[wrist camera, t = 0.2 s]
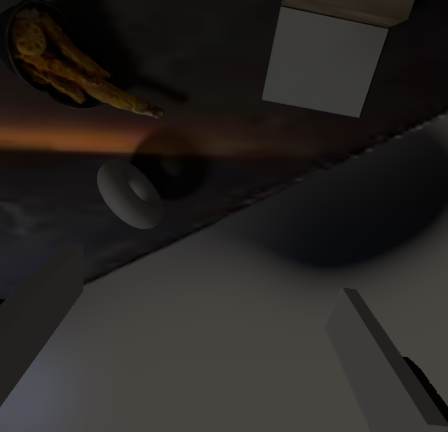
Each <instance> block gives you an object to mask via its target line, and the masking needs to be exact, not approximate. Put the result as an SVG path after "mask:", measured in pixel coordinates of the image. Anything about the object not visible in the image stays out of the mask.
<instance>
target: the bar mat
mask: <svg viewBox="0 0 448 432" xmlns="http://www.w3.org/2000/svg"><path fill="white" fill-rule="evenodd" d="M388 30H389V29H386V28H381V27H376V26H371V25H366V24H362V23H357V22H352V21H347V20H343V19H338V18H333V17H328V16H323V15H319V14H314V13H309V12H304V11H300V10H295V9H290V8H285V7H281V8H280V13H279V18H278V23H277V28H276V33H275V38H274V42H273V47H272V52H271V57H270V62H269V67H268V72H267V77H266V81H265V86H264V91H263V96H262V100H267V101H272V102H277V103H283V104H288V105H293V106H299V107H304V108H310V109H315V110H320V111H326V112H331V113H337V114H342V115H347V116H353V117H358V118H359V116H360V113H361V110H362V107H363V104H364V101H365V98H366V95H367V92H368V89H369V86H370V83H371V80H372V77H373V74H374V71H375V68H376V65H377V62H378V59H379V56H380V53H381V50H382V47H383V44H384V41H385V39H386V36H387V33H388Z"/></svg>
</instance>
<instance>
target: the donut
mask: <svg viewBox="0 0 448 432" xmlns="http://www.w3.org/2000/svg"><path fill="white" fill-rule="evenodd" d="M97 182H98V187H99V190H100V193H101V195H102V197H103V198H104V200H105V202H106V203H107V205H108V206H109V207H110V208H111V210H112V211H113V212H114V213H115V214H116V215H117V216H118V217H119V218H121V219H122V220H123V221H124V222H126V223H128V224H129V225H131V226H134V227H137V228H140V229H147V228H152V227H155V226H156V225H157V224H158V223H159V222H160V221H161V219H162V217H163V204H162V201H161V198H160V196H159V193H158V192H157V190H156V188H155V187H154V185H153V184H152V183H151V181H150V180H149V179H148V178H147V177H146V176H145V175H144V174H143V173H142V172H141V171H140V170H139V169H138V168H137V167H135V166H133V165H132V164H130V163H128V162H126V161H123V160H119V159H116V160H110V161H107V162H105V163H104V164H103V165H102V167H101V168H100V169H99V171H98V179H97Z"/></svg>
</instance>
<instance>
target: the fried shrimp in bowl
mask: <svg viewBox="0 0 448 432" xmlns="http://www.w3.org/2000/svg"><path fill="white" fill-rule="evenodd" d="M0 57H1V59H2V60H3V62H4V63H5V64H6V65H7V67H8V68H9V69H10V70H11V71H12V72H13V73H15V74H16V75H17V76H18V77H19V78H20V79H21V80H22V81H23V82H24V83H26V84H27V85H28V86H29V87H31V88H32V89H34V90H36V91H41V92H47V93H48V95H49V96H51V97H52V98H53V99H54V100H55V101H56V102H57V103H59V104H61V105H64V106H67V107H69V108H73V109H81V110H85V109H93V108H96V107H98V106H100V105H102V104H104V103H105V102H106V103H109V104H111V105H112V106H114V107H117V108H121V109H126V110H130V111H132V112H134V113H137V114H142V115H149V116H152V117H155V118H161V117H163V116H164V110H162V109H161V108H158V107H156V106H155V105H152V106H151V105H150V103H149V102H147V101H145V100H142V99H141V98H139V97H137V96H133V95H132V94H130V93H127V92H125V91H123V90H122V89H119V88H117V87H116V86H114V85H115V81H114V77H113V74H112V72H111V70H110V68H109V67H108V66H107V64H106V63H105V62H104V61H102V60H101V59H100V58H98V57H97V56H95V55H93V54H89V53H87V52H83V51H80V50H79V49H78V46H77V40H76V36H75V33H74V31H73V28H72V27H71V25H70V23H69V22H68V20H67V19H66V18H65V16H64V15H63V14H62V12H61V11H60V10H59V9H58V8H56V7H55V6H54V5H52V4H51V3H49V2H46V1H44V0H25V1H22V2H20V3H19V4H18V5H16V6H12V7H10V8H8V9H6V10H5V11H3V12H2V13H1V14H0Z"/></svg>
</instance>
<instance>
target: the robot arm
mask: <svg viewBox="0 0 448 432" xmlns="http://www.w3.org/2000/svg"><path fill="white" fill-rule="evenodd" d="M82 292H83V245H79V244H72V243H66V244H65V245H64V246H63V247H62V248H61V249H59V250H58V251H57V252H56V253H55V254H54V255H53V256H52V257H51V258H50V259H49V260H48V261H47V262H46V263H45V264H44V265H42V266H41V267H40V268H39V269H38V270H37V271H36V272H35V273H34V274H33V275H32V276H31V277H30V278H29V279H28V280H26V281H25V282H24V283H23V284H22V285H21V286H20V287H19V288H18V289H17V290H16V291H15V292H14V293H13V294H12V295H11V296H9V297H8V298H7V299H6V300H4V299H0V407H1V405H2V404H3V402H4V401H5V399H6V398H7V397H8V395H9V394H10V392H11V391H12V390H13V388H14V387H15V386H16V384H17V383H18V381H19V380H20V378H21V377H22V376H23V374H24V373H25V372H26V370H27V369H28V367H29V366H30V365H31V363H32V362H33V360H34V359H35V358H36V356H37V355H38V353H39V352H40V351H41V349H42V348H43V347H44V345H45V344H46V342H47V341H48V340H49V338H50V337H51V335H52V334H53V333H54V331H55V330H56V328H57V327H58V325H59V324H60V323H61V321H62V320H63V318H64V317H65V316H66V314H67V313H68V312H69V310H70V309H71V307H72V306H73V305H74V303H75V302H76V300H77V299H78V298H79V296H80V294H81V293H82ZM325 329H326V331H327V334H328V336H329V338H330V341H331V343H332V345H333V348H334V350H335V352H336V354H337V357H338V359H339V361H340V364H341V366H342V368H343V370H344V372H345V375H346V377H347V379H348V382H349V384H350V386H351V389H352V391H353V393H354V395H355V398H356V400H357V402H358V404H359V407H360V409H361V411H362V413H363V416H364V418H365V420H366V423H367V425H368V427H369V430H370V432H448V406H447V405H446V404H445V402H444V401H443V400H442V398H441V397H440V395H439V394H437V391H436V390H435V388H434V387H433V386H432V384H430V383H429V380H428V379H427V377H426V376H425V374H424V373H423V372H422V370H421V369H420V368H419V367H418V366H417V365H416V364H415V363H414V362H413V361H411V360H410V359H409V358H408V357H402V356H401V354H400V353H399V351H398V350H397V348H396V347H395V346H394V344H393V343H392V341H391V340H390V338H389V337H388V336H387V334H386V332H385V331H384V330H383V328H382V327H381V325H380V324H379V323H378V321H377V319H376V318H375V316H374V315H373V313H372V312H371V311H370V309H369V308H368V306H367V305H366V303H365V302H364V300H363V299H362V298H361V296H360V295H359V293H358V292H357V290H355V289H349V288H343V287H342V289H341V291H340V293H339V296H338V298H337V300H336V303H335V305H334V307H333V310H332V312H331V314H330V317H329V319H328V321H327V324H326V326H325Z"/></svg>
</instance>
